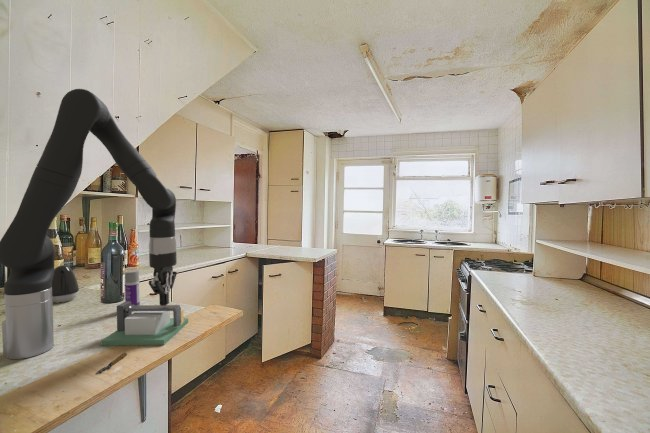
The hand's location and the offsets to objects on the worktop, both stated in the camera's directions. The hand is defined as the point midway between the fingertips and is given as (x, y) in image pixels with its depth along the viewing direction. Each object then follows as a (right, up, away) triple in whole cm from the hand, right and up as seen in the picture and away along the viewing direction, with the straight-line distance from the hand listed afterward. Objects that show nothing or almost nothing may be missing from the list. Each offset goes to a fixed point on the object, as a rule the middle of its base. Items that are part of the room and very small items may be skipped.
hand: (164, 304), depth 93 cm
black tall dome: (-59, -8, +30) cm, 66 cm away
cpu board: (-5, -9, 0) cm, 10 cm away
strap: (-4, -6, 0) cm, 7 cm away
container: (-24, -8, +21) cm, 33 cm away
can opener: (-4, -11, -18) cm, 21 cm away
